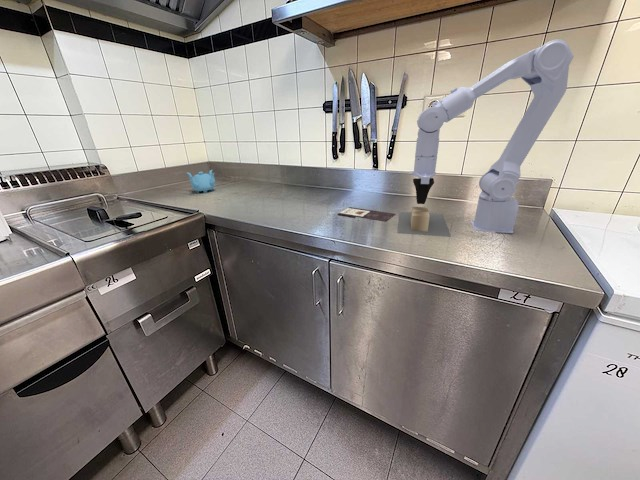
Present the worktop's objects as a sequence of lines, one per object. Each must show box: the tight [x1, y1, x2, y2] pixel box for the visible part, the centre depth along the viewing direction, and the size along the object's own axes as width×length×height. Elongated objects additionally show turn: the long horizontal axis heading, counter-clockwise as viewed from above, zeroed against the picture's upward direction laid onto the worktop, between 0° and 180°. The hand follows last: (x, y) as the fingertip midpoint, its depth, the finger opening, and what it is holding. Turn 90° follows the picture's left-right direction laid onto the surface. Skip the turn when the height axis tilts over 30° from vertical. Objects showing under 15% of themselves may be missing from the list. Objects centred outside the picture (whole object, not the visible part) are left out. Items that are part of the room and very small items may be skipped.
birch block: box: [411, 206, 430, 231], centre depth 80 cm, size 4×4×9 cm
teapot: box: [186, 169, 216, 194], centre depth 138 cm, size 13×13×10 cm
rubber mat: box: [397, 211, 452, 238], centre depth 83 cm, size 14×20×1 cm
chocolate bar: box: [337, 206, 396, 223], centre depth 93 cm, size 9×1×18 cm
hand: (420, 203), depth 79 cm, fingers closed
